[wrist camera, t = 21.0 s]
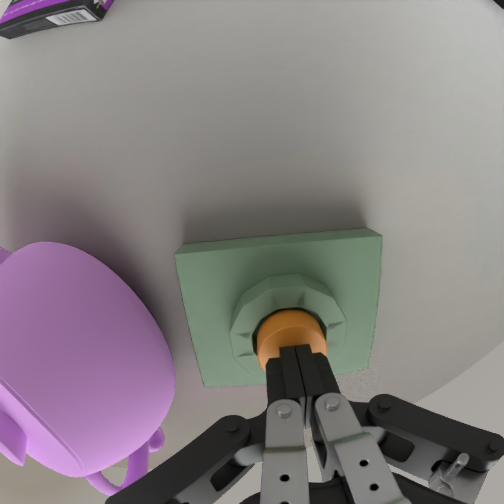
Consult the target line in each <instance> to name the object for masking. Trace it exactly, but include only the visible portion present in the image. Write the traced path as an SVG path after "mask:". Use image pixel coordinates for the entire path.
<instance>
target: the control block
mask: <svg viewBox="0 0 504 504" xmlns="http://www.w3.org/2000/svg"><path fill="white" fill-rule="evenodd" d="M381 255H382V235H380V234H379V233H377V232H375V231H373V230H371V229H369V228H360V229H347V230H334V231H322V232H310V233H298V234H286V235H275V236H264V237H253V238H242V239H232V240H221V241H211V242H201V243H191V244H183V245H182V246H181V247H180V248H179V249H178V250H177V251H176V252H175V254H174V258H175V263H176V269H177V274H178V279H179V284H180V289H181V294H182V299H183V304H184V308H185V313H186V317H187V322H188V326H189V330H190V335H191V339H192V343H193V347H194V351H195V355H196V359H197V362H198V366H199V370H200V373H201V377H202V381H203V384H204V387H223V386H247V385H261V384H267V382H266V372H265V371H264V370H263V369H262V368H261V366H260V364H259V362H258V353H257V334H258V331H259V328H260V326H261V325H262V323H263V322H264V321H265V320H266V319H267V318H268V317H270V316H271V315H273V314H275V313H277V312H280V311H283V310H292V309H293V310H301V311H304V312H306V313H309V314H310V315H312V316H313V317H314V318H315V319H316V320H317V322H318V323H319V326H320V328H321V330H322V333H323V335H324V338H325V340H326V343H327V354H326V357H327V358H328V361H329V363H330V366H331V369H332V372H333V374H334V375H339V374H345V373H350V372H355V371H360V370H365V369H368V365H369V360H370V354H371V349H372V343H373V336H374V329H375V322H376V314H377V306H378V296H379V285H380V272H381Z"/></svg>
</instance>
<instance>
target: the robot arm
mask: <svg viewBox="0 0 504 504" xmlns="http://www.w3.org/2000/svg"><path fill="white" fill-rule="evenodd" d="M265 368H266V382H267V396H268V406H267V408H266V410H265V411H264V412H263V413H262V414H260V415H259V416H256V417H254V418H251V419H247V420H246V419H245V418H243V417H241V416H238V415H229V416H225V417H223V418H221V419H219V420H218V421H217V422H216V423H214V424H213V425H212V426H211V427H210V428H208V429H207V430H206V431H205V432H203V433H202V434H201V435H200V436H198V437H197V438H196V439H195V440H193V441H192V442H191V443H189V444H188V445H187V446H185V447H184V448H183V449H181V450H180V451H179V452H177V453H176V454H175V455H173V456H172V457H171V458H169V459H168V460H166V461H165V462H164V463H162V464H161V465H159V466H158V467H156V468H155V469H153V470H152V471H150V472H149V473H147V474H146V475H144V476H143V477H141V478H140V479H138V480H137V481H135V482H133V483H132V484H130V485H129V486H127V487H125V488H124V489H122V490H120V491H119V492H117V493H115V494H113V495H112V496H110V497H109V498H108V499H107V500H106V502H105V504H213V503H214V502H215V501H216V500H218V499H219V498H220V497H221V496H222V495H223V494H224V493H226V492H227V491H228V490H229V489H230V488H231V487H232V486H233V485H234V484H236V483H237V482H238V481H239V480H240V479H241V478H242V477H243V476H244V475H245V474H246V473H247V472H248V471H249V470H250V469H251V468H252V467H253V466H254V465H255V463H257V462H260V461H263V463H262V479H261V492H259V493H256V494H254V495H252V496H250V497H248V498H246V499H245V500H243V501H242V502H241V503H239V504H474V502H475V500H476V498H477V495H478V494H479V491H480V489H481V487H482V484H483V482H484V480H485V478H486V475H487V473H488V471H489V470H490V468H492V467H493V466H494V464H495V463H496V462H497V461H498V460H499V459H500V458H501V457H502V456H503V455H504V438H503V437H502V436H500V435H499V434H496V433H492V432H489V431H486V430H483V429H479V428H476V427H473V426H470V425H467V424H464V423H461V422H459V421H456V420H453V419H450V418H447V417H445V416H442V415H439V414H436V413H434V412H431V411H429V410H426V409H424V408H421V407H419V406H416V405H414V404H411V403H409V402H407V401H404V400H402V399H399V398H397V397H395V396H392V395H389V394H380V395H377V396H375V397H373V398H372V399H371V400H370V402H369V403H364V402H352V401H349V400H348V399H347V398H346V397H345V396H344V395H342V394H341V393H340V390H339V387H338V385H337V382H336V379H335V377H334V374H333V372H332V369H331V366H330V363H329V361H328V358H327V357H326V356H325V355H324V354H323V353H321V352H317V353H312V350H311V347H310V344H302V345H295V346H285V347H279V357H276V358H269V359H268V361H267V363H266V365H265ZM304 425H305V429H306V428H311V431H312V444H313V447H314V451H315V453H316V457H317V460H318V464H319V467H320V470H321V474H322V483H312V482H308V467H307V453H306V447H305V444H304V431H303V429H304ZM387 463H388V464H390V465H393V466H394V467H397V468H399V469H401V470H403V471H405V472H408V473H410V474H412V475H414V476H417V477H419V478H422V479H424V480H427V481H428V484H429V488H427V487H425V486H423V485H421V484H418V483H416V482H414V481H412V480H410V479H408V478H406V477H404V476H402V475H400V474H397V473H394V472H391V470H390V468H389V466H388V464H387Z"/></svg>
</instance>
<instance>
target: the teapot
mask: <svg viewBox="0 0 504 504" xmlns="http://www.w3.org/2000/svg"><path fill="white" fill-rule="evenodd" d="M175 388H176V378H175V371H174V365H173V359H172V356H171V353H170V350H169V347H168V344H167V342H166V340H165V338H164V335H163V333H162V331H161V330H160V328H159V326H158V325H157V323H156V321H155V319H154V318H153V316H152V315H151V313H150V312H149V311H148V309H147V308H146V306H145V305H144V303H143V302H142V301H141V300H140V299H139V298H138V296H137V295H136V294H135V293H134V292H133V290H132V289H131V288H130V287H129V286H128V285H127V284H126V283H125V282H124V281H123V280H122V279H121V278H120V277H119V276H118V275H117V274H115V273H114V272H113V271H112V270H111V269H110V268H108V267H107V266H106V265H105V264H103V263H102V262H100V261H99V260H97V259H96V258H94V257H93V256H91V255H90V254H88V253H86V252H84V251H82V250H80V249H78V248H75V247H72V246H70V245H66V244H62V243H57V242H36V243H31V244H29V245H27V246H25V247H23V248H21V249H19V250H17V251H15V252H14V253H13V254H12V253H10V252H8V251H7V250H5V249H4V248H2V247H0V452H1V453H2V454H3V455H5V456H6V457H7V458H8V459H9V460H11V461H12V462H14V463H15V464H18V465H20V466H23V465H24V461H25V454H26V453H27V454H28V455H29V456H31V457H32V458H34V459H35V460H37V461H38V462H40V463H41V464H43V465H45V466H47V467H48V468H50V469H52V470H54V471H56V472H59V473H61V474H64V475H67V476H71V477H82V476H85V478H86V479H87V480H88V481H89V483H90V484H91V485H92V486H93V487H95V488H96V489H97V490H98V491H100V492H102V493H104V494H106V495H109V496H112V495H113V494H115V493H117V492H119V491H120V490H122V489H124V488H125V487H127V486H129V485H130V484H132V483H133V482H135V481H137V480H138V479H140V478H141V477H143V476H144V475H146V474H147V473H148V462H149V452H156V451H158V450H160V449H161V448H162V447H163V445H164V441H165V438H164V434H163V432H162V430H161V428H160V427H159V426H160V424H161V423H162V421H163V420H164V418H165V416H166V415H167V413H168V410H169V408H170V406H171V403H172V400H173V398H174V393H175ZM127 456H129V461H128V470H127V475H126V478H125V481H124V483H123V484H122V486H120V487H118V486H115V485H114V484H112V483H110V482H109V481H108V480H107V479H106V478H105V477H104V476H103V475H102V474H101V470H103V469H105V468H107V467H109V466H111V465H113V464H115V463H117V462H119V461H120V460H122V459H124V458H126V457H127Z"/></svg>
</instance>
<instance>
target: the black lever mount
mask: <svg viewBox="0 0 504 504" xmlns="http://www.w3.org/2000/svg"><path fill="white" fill-rule="evenodd" d="M494 1H495V2H496V3H497V4H498V5H499V6H500V7H501V8H502V9H504V0H494Z"/></svg>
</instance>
